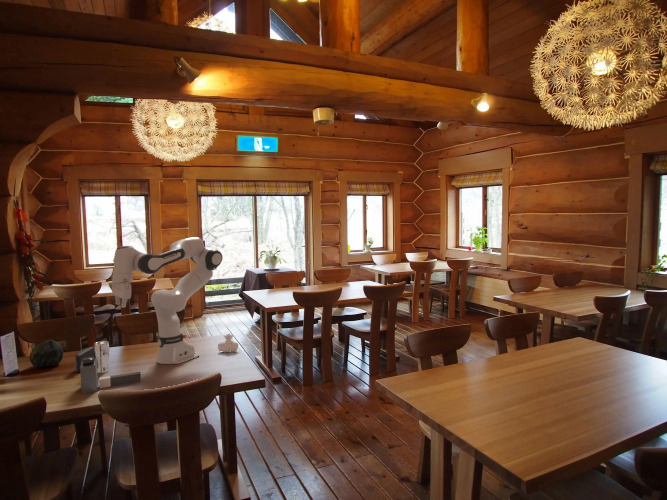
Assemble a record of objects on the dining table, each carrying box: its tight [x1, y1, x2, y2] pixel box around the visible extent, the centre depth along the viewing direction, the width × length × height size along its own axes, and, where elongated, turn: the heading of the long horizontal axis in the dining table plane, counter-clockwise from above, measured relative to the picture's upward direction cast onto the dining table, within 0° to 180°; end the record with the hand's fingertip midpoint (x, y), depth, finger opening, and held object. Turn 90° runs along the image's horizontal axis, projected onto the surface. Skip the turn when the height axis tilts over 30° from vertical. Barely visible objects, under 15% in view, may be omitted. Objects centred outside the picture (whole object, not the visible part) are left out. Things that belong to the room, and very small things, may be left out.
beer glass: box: [93, 340, 110, 374], centre depth 221 cm, size 7×7×15 cm
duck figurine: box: [217, 333, 239, 353], centre depth 254 cm, size 12×8×11 cm
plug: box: [98, 371, 142, 389], centre depth 205 cm, size 18×3×4 cm, turn 116°
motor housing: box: [79, 357, 99, 395], centre depth 199 cm, size 6×11×14 cm, turn 26°
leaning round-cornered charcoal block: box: [74, 346, 95, 373], centre depth 226 cm, size 16×5×9 cm, turn 2°
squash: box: [29, 339, 64, 368], centre depth 231 cm, size 14×15×15 cm
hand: (120, 306), depth 213 cm, fingers open, 8 cm apart
